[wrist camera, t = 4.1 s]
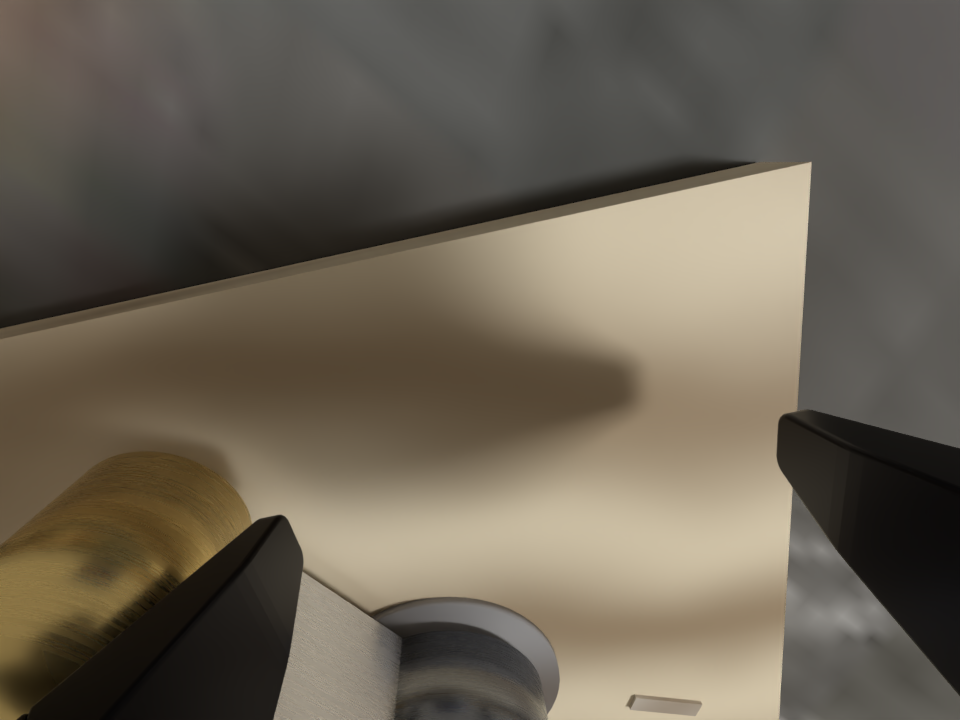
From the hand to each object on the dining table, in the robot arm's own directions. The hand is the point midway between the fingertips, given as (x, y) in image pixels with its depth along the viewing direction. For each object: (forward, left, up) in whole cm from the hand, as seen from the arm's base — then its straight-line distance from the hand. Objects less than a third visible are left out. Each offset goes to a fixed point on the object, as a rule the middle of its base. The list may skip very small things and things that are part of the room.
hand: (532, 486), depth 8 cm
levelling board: (-6, +3, -4) cm, 8 cm away
